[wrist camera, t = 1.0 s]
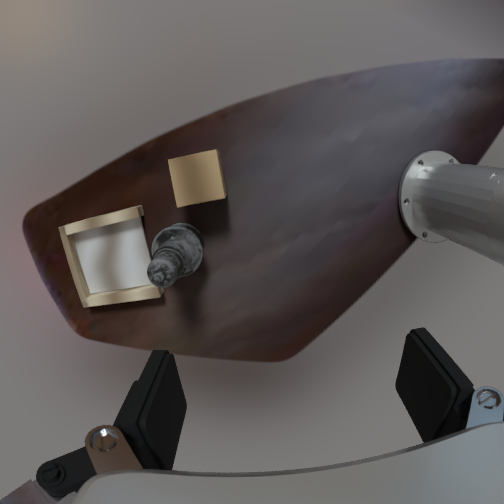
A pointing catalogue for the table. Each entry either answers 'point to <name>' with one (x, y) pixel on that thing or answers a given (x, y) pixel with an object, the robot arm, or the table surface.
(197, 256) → the grey chess piece
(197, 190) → the oak block
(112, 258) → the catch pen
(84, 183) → the table surface
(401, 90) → the table surface
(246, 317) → the table surface
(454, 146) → the table surface
